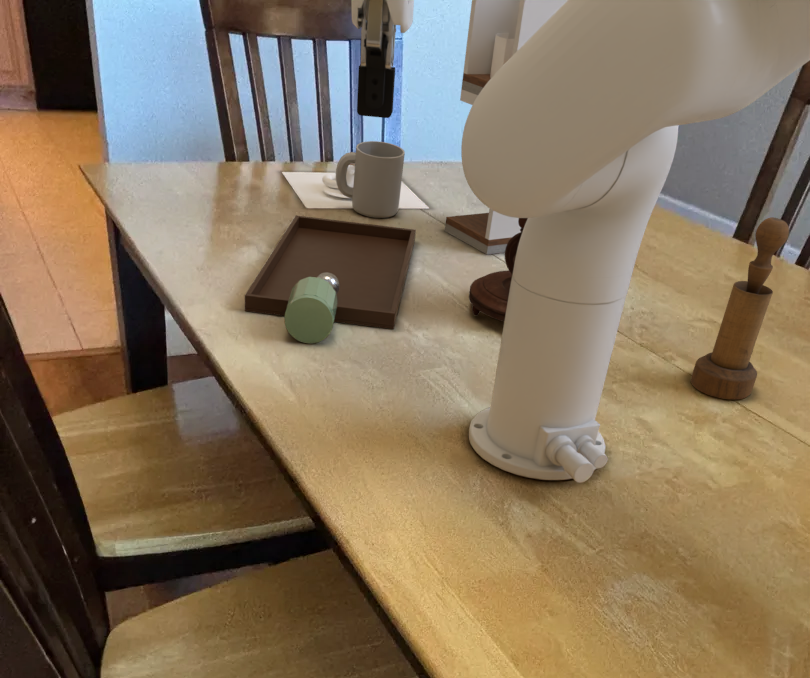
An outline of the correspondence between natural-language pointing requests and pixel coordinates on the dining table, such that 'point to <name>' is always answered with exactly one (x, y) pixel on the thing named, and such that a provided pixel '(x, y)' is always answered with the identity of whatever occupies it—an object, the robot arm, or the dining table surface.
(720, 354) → the mortar and pestle
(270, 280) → the tray
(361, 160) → the cup
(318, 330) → the tumbler
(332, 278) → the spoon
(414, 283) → the dining table surface
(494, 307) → the dark brown wooden piece
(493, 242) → the white shelf tower
